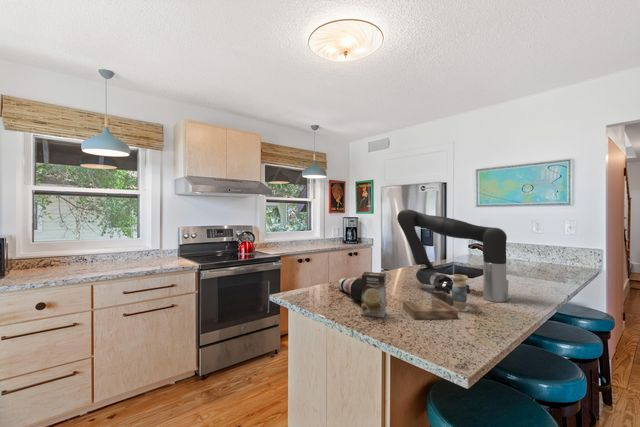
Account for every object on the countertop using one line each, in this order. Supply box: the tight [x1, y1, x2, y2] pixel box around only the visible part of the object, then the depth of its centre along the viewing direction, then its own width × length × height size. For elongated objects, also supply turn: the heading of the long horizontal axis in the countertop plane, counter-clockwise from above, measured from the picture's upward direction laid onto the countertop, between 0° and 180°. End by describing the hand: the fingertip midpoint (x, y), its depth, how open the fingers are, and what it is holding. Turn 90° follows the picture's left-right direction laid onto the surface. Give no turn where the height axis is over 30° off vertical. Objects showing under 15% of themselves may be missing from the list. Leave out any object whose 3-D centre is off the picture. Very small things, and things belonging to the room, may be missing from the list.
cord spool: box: [450, 274, 469, 313], centre depth 125 cm, size 6×6×14 cm
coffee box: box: [360, 271, 387, 318], centre depth 120 cm, size 9×6×16 cm
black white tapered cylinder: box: [337, 277, 362, 302], centre depth 146 cm, size 10×34×10 cm, turn 20°
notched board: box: [402, 300, 459, 320], centre depth 121 cm, size 17×13×3 cm
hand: (459, 291), depth 125 cm, fingers open, 8 cm apart
